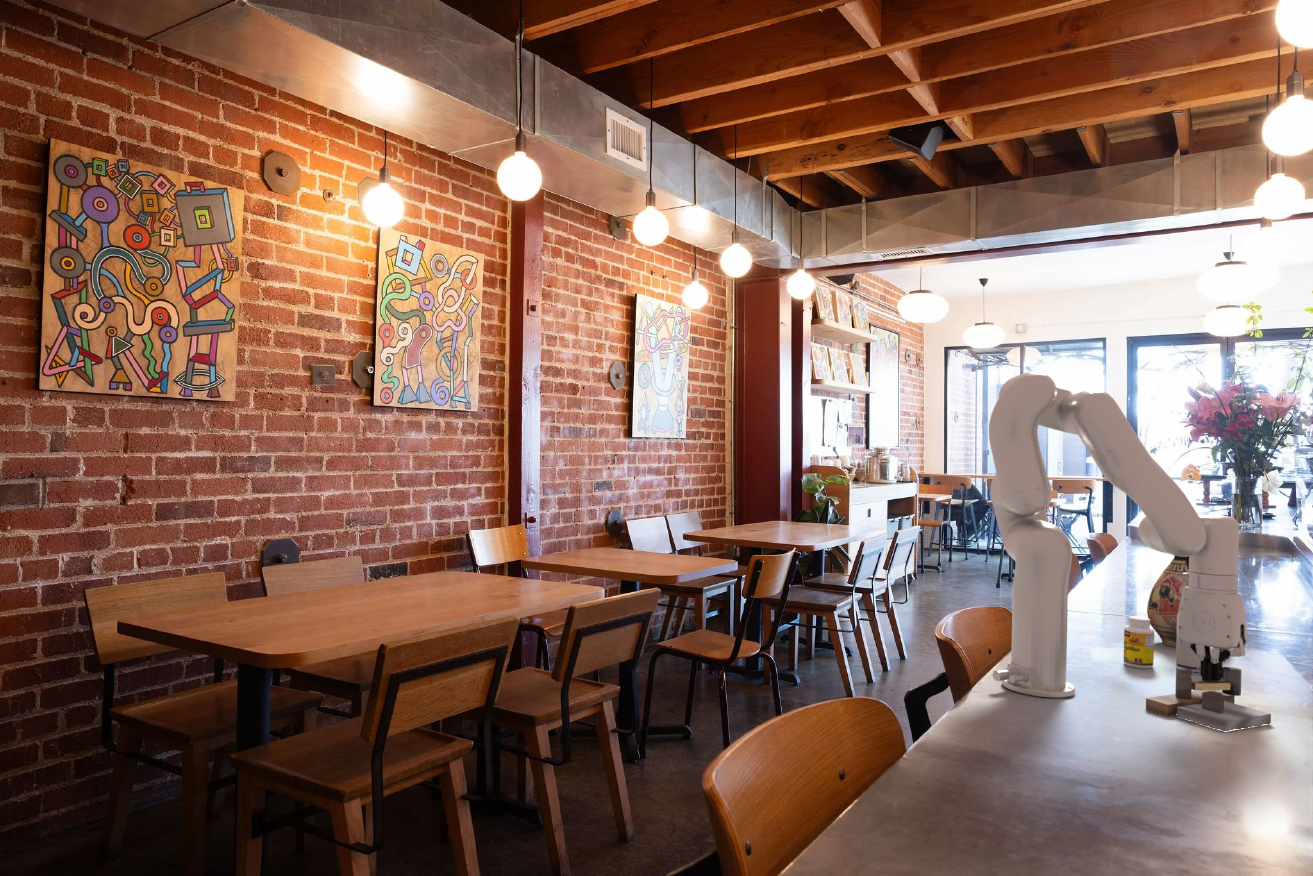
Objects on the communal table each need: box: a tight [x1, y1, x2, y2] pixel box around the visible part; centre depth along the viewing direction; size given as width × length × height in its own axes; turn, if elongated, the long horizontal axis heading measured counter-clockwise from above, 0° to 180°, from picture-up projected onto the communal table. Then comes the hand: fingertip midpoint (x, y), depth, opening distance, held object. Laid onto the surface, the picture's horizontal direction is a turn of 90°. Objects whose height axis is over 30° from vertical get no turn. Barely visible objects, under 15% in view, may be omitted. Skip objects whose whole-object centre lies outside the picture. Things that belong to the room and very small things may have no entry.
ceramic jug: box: [1146, 555, 1189, 648], centre depth 199 cm, size 17×15×30 cm
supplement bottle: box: [1123, 615, 1155, 670], centre depth 179 cm, size 6×6×10 cm
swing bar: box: [1192, 666, 1242, 697], centre depth 150 cm, size 9×3×4 cm, turn 98°
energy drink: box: [1175, 614, 1201, 674], centre depth 177 cm, size 5×5×12 cm
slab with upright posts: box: [1145, 667, 1272, 731], centre depth 146 cm, size 18×13×7 cm
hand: (1211, 683), depth 154 cm, fingers closed
